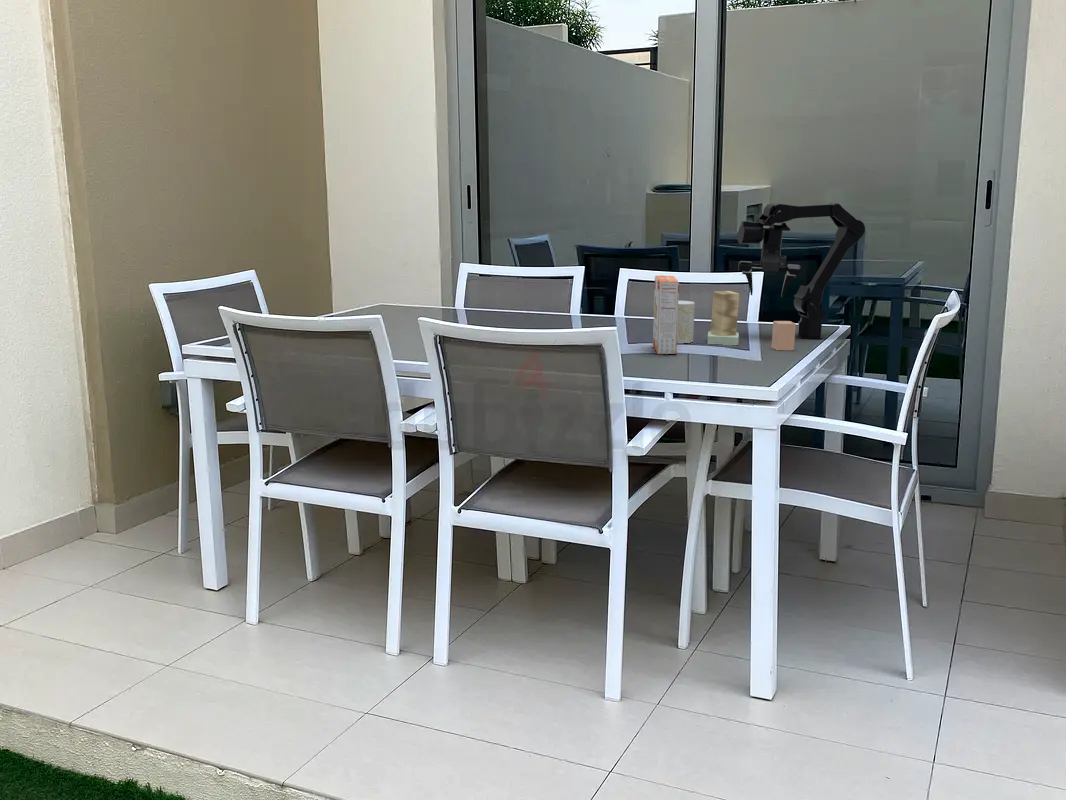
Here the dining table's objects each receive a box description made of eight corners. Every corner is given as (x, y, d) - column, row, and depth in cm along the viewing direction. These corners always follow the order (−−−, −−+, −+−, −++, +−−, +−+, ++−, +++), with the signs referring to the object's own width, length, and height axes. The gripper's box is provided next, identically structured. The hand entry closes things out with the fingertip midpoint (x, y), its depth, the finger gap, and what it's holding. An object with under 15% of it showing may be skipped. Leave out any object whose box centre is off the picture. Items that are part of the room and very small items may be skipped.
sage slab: (737, 342, 315) (738, 332, 314) (738, 347, 306) (738, 337, 306) (708, 340, 316) (708, 331, 316) (707, 346, 308) (707, 336, 307)
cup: (676, 345, 306) (677, 304, 303) (660, 340, 313) (662, 301, 310) (698, 343, 310) (700, 303, 307) (682, 338, 317) (684, 299, 314)
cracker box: (651, 346, 303) (654, 275, 299) (671, 346, 303) (675, 275, 299) (655, 355, 290) (658, 280, 285) (676, 355, 290) (680, 280, 285)
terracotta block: (787, 348, 304) (789, 321, 302) (793, 351, 299) (795, 323, 297) (771, 348, 303) (773, 321, 301) (777, 351, 298) (778, 323, 296)
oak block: (725, 331, 315) (729, 290, 311) (736, 335, 310) (739, 293, 307) (710, 332, 312) (713, 291, 309) (720, 335, 308) (723, 294, 304)
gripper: (740, 244, 308) (736, 296, 311) (805, 248, 305) (799, 301, 308) (740, 242, 319) (735, 293, 322) (802, 246, 315) (797, 297, 319)
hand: (766, 296), depth 318 cm, fingers open, 9 cm apart
